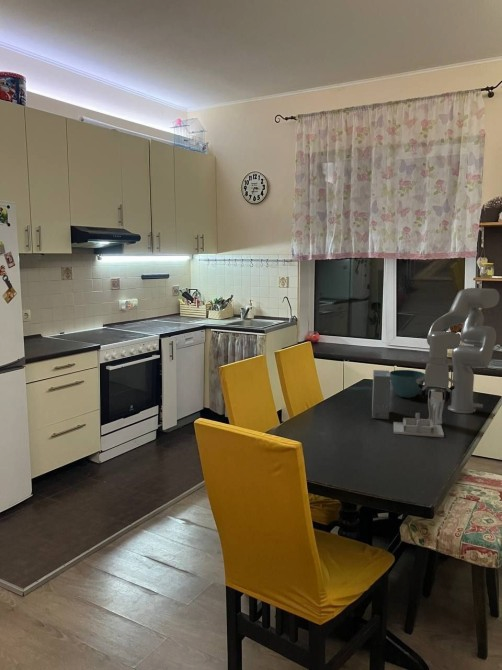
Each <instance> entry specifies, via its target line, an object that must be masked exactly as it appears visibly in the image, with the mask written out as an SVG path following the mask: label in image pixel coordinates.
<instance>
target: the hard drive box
mask: <svg viewBox="0 0 502 670" xmlns="http://www.w3.org/2000/svg"><path fill="white" fill-rule="evenodd" d="M372 372H373V373H372V402H371V403H372V405H371V418H372V419H381V420H389V419H390V401H391V400H390V397H391V380H390V379H391V377H390V372H391V371H390V370H384V369H382V370H380V369H379V370H378V369H373V370H372Z"/></svg>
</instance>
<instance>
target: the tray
mask: <svg viewBox="0 0 502 670" xmlns="http://www.w3.org/2000/svg"><path fill="white" fill-rule="evenodd" d="M420 417H421V413H420V412H415V416H414V417H413V418H412V417H403V418H402V422H401V421H393V434H394V435H404V436H405V435H407V436H408V435H409V436H421V437H432V438H433V437H434V438H435V437H436V438H444V437H445V433H444V430H443V427H442V424H441V425H433V422H432V420H431V419H429V418H426V419H425V418H420Z"/></svg>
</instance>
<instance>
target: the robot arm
mask: <svg viewBox="0 0 502 670" xmlns="http://www.w3.org/2000/svg"><path fill="white" fill-rule="evenodd" d="M499 301H500V293H499V291H498V290H497V289H495V288H484V287H483V288H480V287H469V288H465V289H461V290H459V291H458V292H457V294H456V296H455V298H454V300H453V302H452V304H451V306H450V308H449V311H448V312H447V313H445V314H443V315H441V316H440V317H439V318H437V319H436V320H435V321H434V322H433V323H432V324H431V327H430V329H429V331H428V333H427V336H426V343H427V345H428V346H429V349H428V350H429V353H428V354H429V356H428V363H426V366H425V371H424V374H425V376H424V377H421V378H419V379H416V382H417V384H418V386H419V387H420V388H421V398H422V399H423V400H426V393H427V392H426V389H427V388H428V387H429V388H430V387H431V388H439V389H440V388H441V389H443V388H444V389H445V390H446V391H445V401H446V402H448V401H449V400H450V398H451V403H450V405H448V406H447V410H448V411H449V412H453V413H455V414H456V413H457V414H473V412H474V413H475V412H476V408H477V409H483V408H484V404H482V403H479V402H478V403H477V402H476V403H475V402H474V401H473V400H474V384H475V383H474V382H475V381H474V380H475V374H474V372H473V370H472V368H471V367H474V368H479V369H480V368H481V369H482V368H484V369H485V368H488V367H489V365H490V363H491V361H492V357H493V353H494V349H495V345H496V341H497V332H496V330H495V328H494V327H493V326H488V325H483V323H484V321H485V319H484V318H485V317H484V314H483V312H482V310H481V309H490V308H494V307H495V306H497V305H498V304H499ZM459 325H462V328H461V331H460V334H458V333H456V332H453V331H452V332H451V331H444V330H445V329H447V328H450V327H455V326H459ZM461 342H462V343H463V344H461ZM465 344H466V345H465ZM448 350H451V359H449V358H448ZM451 361H452V378H451V377H450V371H449V370H450V369H449V368H450V367H449V363H451ZM422 380H424V383H423V386H422V385H421V384H420V381H422ZM450 383H451V386H450V387H449V385H450Z"/></svg>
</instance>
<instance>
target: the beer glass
mask: <svg viewBox="0 0 502 670" xmlns="http://www.w3.org/2000/svg"><path fill="white" fill-rule="evenodd" d="M445 399H446V396H445V390H444V389H443V388H441V389H440V388H429V389H428V394H427V406H428V414H429V415H428V419H431V420H432V422H433V425H441V426H442V424H443V417H442V415H443V410H444V405H445Z"/></svg>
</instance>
